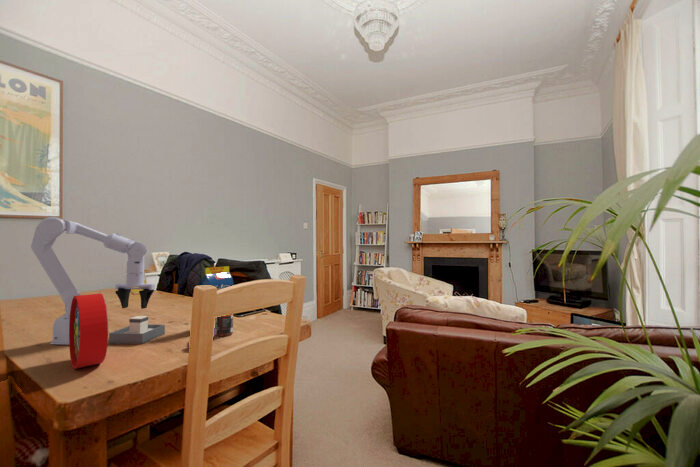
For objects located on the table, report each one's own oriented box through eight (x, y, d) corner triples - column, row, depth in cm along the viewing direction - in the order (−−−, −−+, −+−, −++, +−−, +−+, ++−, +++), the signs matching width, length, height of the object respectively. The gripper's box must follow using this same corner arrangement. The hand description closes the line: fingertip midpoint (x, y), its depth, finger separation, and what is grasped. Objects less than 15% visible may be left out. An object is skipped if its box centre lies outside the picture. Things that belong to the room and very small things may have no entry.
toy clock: (67, 358, 93) (70, 291, 94) (92, 353, 98) (95, 289, 98) (78, 378, 80) (81, 300, 81) (106, 371, 84) (109, 297, 85)
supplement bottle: (236, 333, 120) (236, 304, 120) (222, 337, 115) (223, 307, 115) (226, 331, 123) (227, 302, 123) (212, 335, 118) (213, 305, 118)
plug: (128, 338, 111) (129, 318, 112) (137, 334, 116) (137, 315, 116) (139, 338, 111) (140, 318, 111) (147, 335, 115) (148, 316, 116)
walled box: (108, 343, 107) (109, 333, 108) (134, 333, 119) (134, 324, 120) (142, 344, 107) (142, 333, 107) (164, 333, 119) (164, 324, 119)
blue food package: (198, 329, 125) (200, 267, 126) (222, 322, 136) (224, 265, 137) (209, 331, 123) (210, 268, 123) (233, 324, 133) (234, 266, 134)
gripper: (160, 272, 125) (159, 306, 124) (125, 271, 125) (124, 305, 125) (148, 274, 118) (147, 310, 117) (111, 273, 118) (110, 309, 118)
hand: (134, 308), depth 121 cm, fingers open, 7 cm apart
